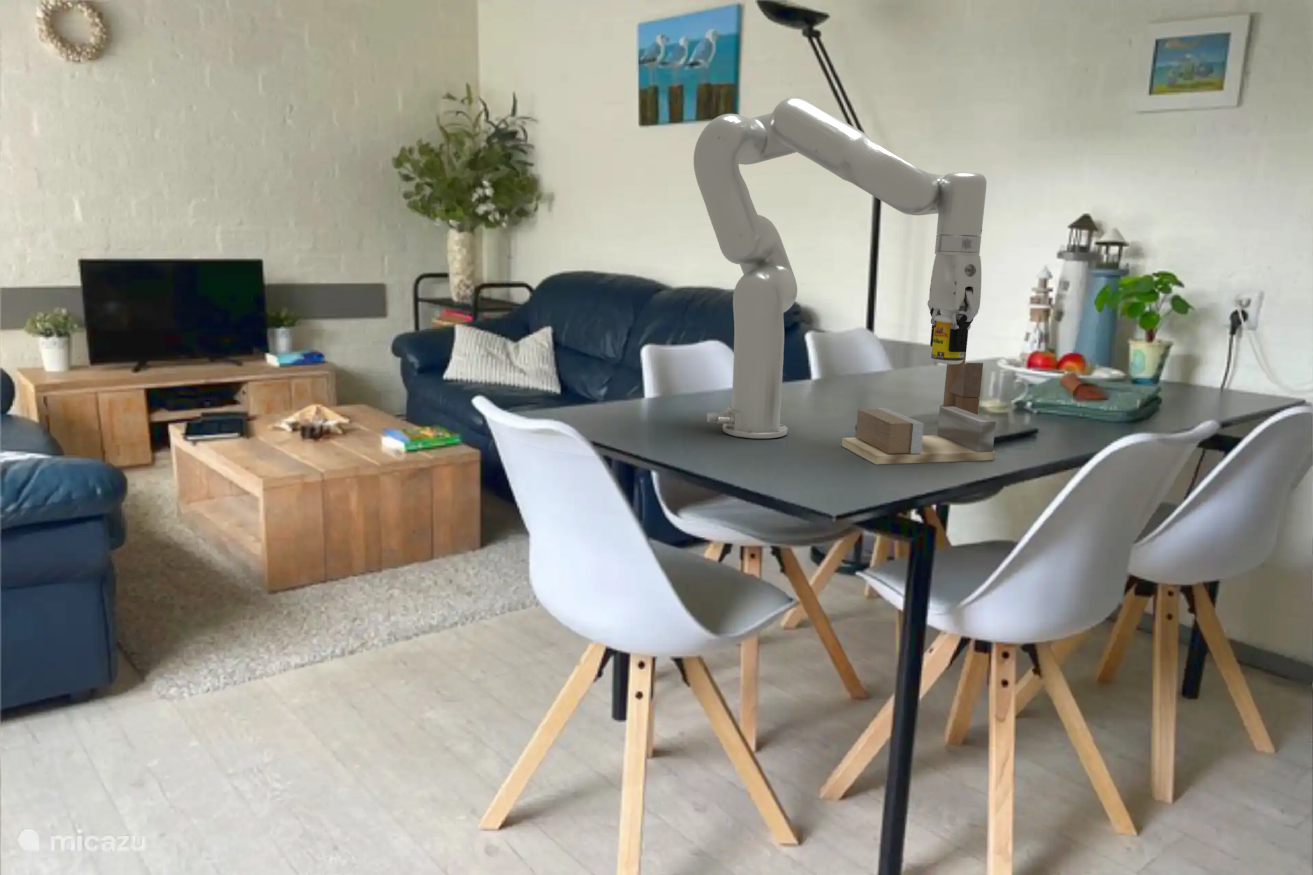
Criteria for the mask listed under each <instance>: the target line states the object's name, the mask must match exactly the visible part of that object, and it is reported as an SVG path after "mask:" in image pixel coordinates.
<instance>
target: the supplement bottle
mask: <svg viewBox="0 0 1313 875" xmlns="http://www.w3.org/2000/svg"><path fill="white" fill-rule="evenodd" d="M958 311H964V309H963V308H960V309H959V310H958ZM940 313H941V315H937V316H936V317H935V322H934V333H933V344H932V347H931V357H930V359H931V361H932V362H934V363H936V364H942V365H947V364H960V363H962V362H963V358H964V352H950V351H949V339H950V329H953V321H952V312H948V311H946V310H943V309H940ZM958 317H959V319H960V318H961V316H958Z"/></svg>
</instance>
